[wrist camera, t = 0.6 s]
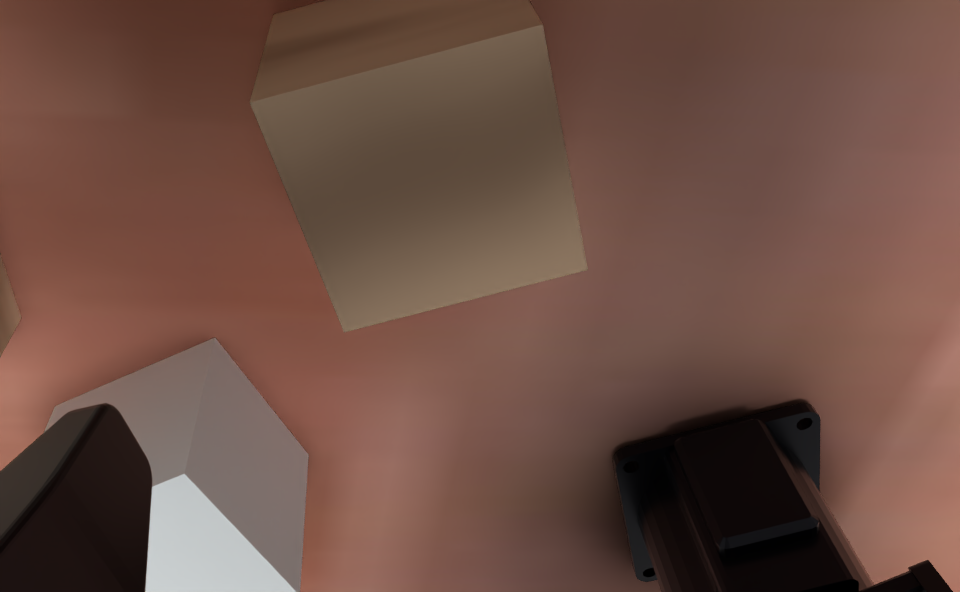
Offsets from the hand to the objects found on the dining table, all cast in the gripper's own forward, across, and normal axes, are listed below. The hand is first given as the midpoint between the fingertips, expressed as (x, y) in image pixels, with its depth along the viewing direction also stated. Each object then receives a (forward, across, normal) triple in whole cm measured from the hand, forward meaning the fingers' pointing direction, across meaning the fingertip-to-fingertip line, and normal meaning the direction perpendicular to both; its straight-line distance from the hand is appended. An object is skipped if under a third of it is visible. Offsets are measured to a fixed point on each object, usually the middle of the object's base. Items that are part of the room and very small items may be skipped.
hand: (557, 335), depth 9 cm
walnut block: (+12, +1, +2) cm, 12 cm away
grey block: (+12, +10, +10) cm, 19 cm away
